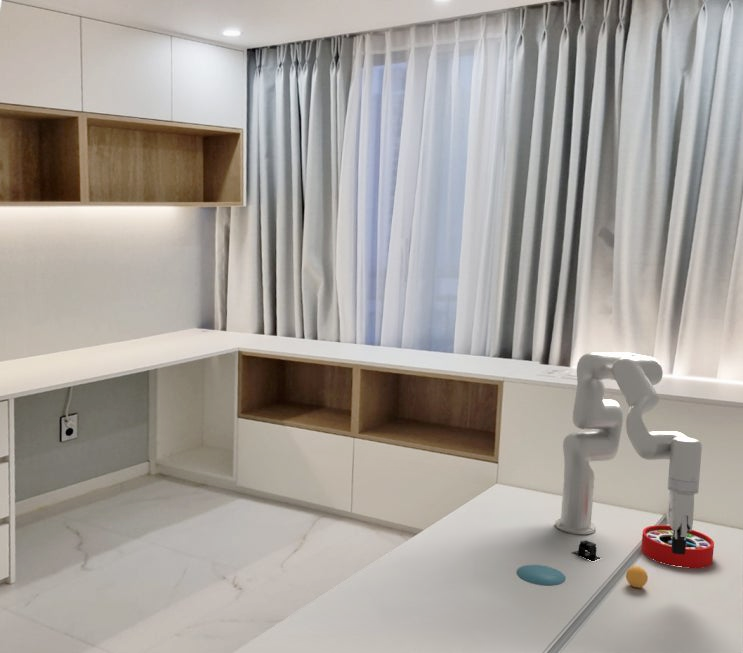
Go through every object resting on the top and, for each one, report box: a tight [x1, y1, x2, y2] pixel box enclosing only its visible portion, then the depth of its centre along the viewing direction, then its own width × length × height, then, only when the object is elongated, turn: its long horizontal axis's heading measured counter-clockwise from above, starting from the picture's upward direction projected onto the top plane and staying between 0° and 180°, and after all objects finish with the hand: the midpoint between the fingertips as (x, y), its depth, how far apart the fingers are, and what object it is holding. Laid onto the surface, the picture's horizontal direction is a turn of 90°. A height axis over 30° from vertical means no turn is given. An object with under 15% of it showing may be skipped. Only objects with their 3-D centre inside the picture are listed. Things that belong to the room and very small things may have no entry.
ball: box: [625, 565, 649, 589], centre depth 210 cm, size 6×6×6 cm
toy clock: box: [640, 524, 715, 569], centre depth 234 cm, size 20×6×20 cm
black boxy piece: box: [570, 539, 601, 562], centre depth 230 cm, size 12×7×5 cm, turn 37°
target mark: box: [516, 564, 566, 586], centre depth 214 cm, size 13×13×1 cm
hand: (678, 552), depth 207 cm, fingers closed
